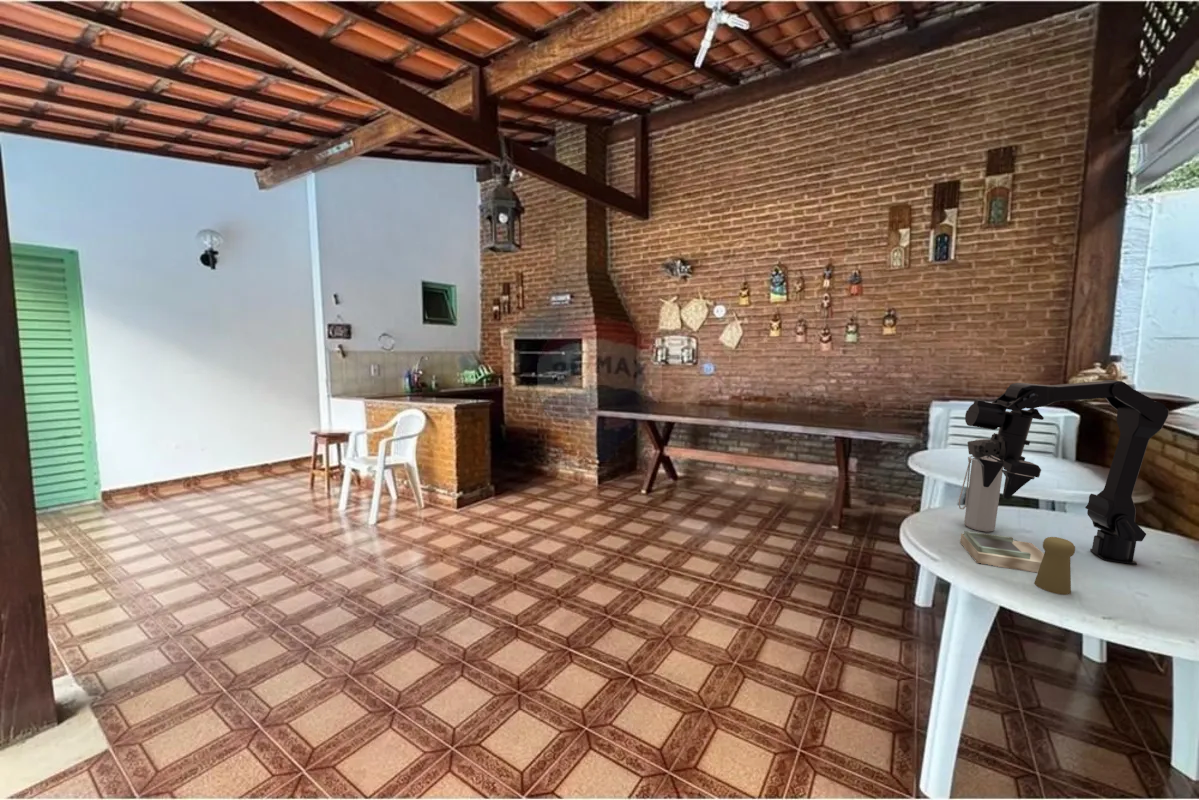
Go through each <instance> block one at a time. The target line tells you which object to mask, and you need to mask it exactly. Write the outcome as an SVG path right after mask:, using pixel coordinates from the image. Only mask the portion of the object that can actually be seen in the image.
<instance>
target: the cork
mask: <svg viewBox="0 0 1199 800" xmlns="http://www.w3.org/2000/svg"><path fill="white" fill-rule="evenodd" d="M1042 549H1043V550H1044V552H1043V553H1044V556H1043V559H1042V562H1041V565H1040V568H1039V571H1038V573H1037V572H1036V573H1037V574H1036V577H1035V580H1034V583H1033V584H1034V585H1035V586H1036V587H1037V588H1040V589H1041V590H1044V591H1046V592H1050V593H1052V594H1058V595H1062V596H1064V595H1065V596H1067V595H1068V596H1069V595H1071V593H1072V582H1071V579H1072V578H1071V576H1072V575H1071V571H1072V570H1071V558H1072V557H1073V556H1074V554H1075V552H1076V545H1075V544H1074V543H1073V542H1072V541H1070V540H1068V539H1065V538H1062V537H1057V536H1047V537H1045V538H1044V540H1043V541H1042Z"/></svg>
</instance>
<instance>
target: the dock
mask: <svg viewBox="0 0 1199 800" xmlns="http://www.w3.org/2000/svg"><path fill="white" fill-rule="evenodd" d="M959 544H961V545H963V546H964V547H963V546H962V547H963V548H964V549H965V550H966V552H967V551H968V552H969V553H968V555H970V557H973V558H974V559H975V560H976V561H975V560H974V559H973V558H972V559H973V560H974V561H975V563H976V564H977V563H981V564H980V565H984V564H988V565H987V566H991V565H993V566H992V567H997V566H998V567H999V568H1005V569H1011V570H1018V571H1024V572H1025V571H1026V572H1032V573H1038V571H1039V568H1040V565H1041V562H1042V559H1043V556H1044V553H1045V552H1043V551H1042V550H1040V549H1039V548H1038V547H1037V546H1036V545H1034V543H1032V542H1027V541H1019V540H1014V537H1012V536H1005V535H997V534H992V533H991V534H989V533H983V532H975V531H967V530H964V532H963V533H961V534H960V540H959Z"/></svg>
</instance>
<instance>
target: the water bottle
mask: <svg viewBox="0 0 1199 800" xmlns="http://www.w3.org/2000/svg"><path fill="white" fill-rule="evenodd" d="M983 439H984V438H975V440H974V441H976V440H983ZM967 461H968V463H967V468H966V471H965V476H964V479H963V481H962V482H963V483H962V487H961V490H960V494H959V498H958V509H959V510H965V512H964V514H965V515H964V521H963V522H964V525H965V526H967V528H969V529H972V530H974V531H978V532H982V533H983V532H985V533H987V532H989V533H991V532H993V531H995V529H996V525H997V524H996V523H997V518H998V517H997V516H998V509H999V500H1000V494H1001V487H1002V479H1003V472H1002V470H1004V467H1002V468H1001V470H1000V471H999V473H998V474H997V476H996V477H995V479H994V480H993V482H992V483H991V485H990V486H989V487H984V486H983V477H982V467H981V464H980V463H979V462H978V460H977V459H975V457H974V455H972V454H971V455H969V456H967ZM966 480H967V482H966ZM965 484H966V489H965V490H966V492H965V501H964V506H962V507H961V499H962V495H963V492H964V488H965V487H964V486H965Z"/></svg>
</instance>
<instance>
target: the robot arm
mask: <svg viewBox="0 0 1199 800" xmlns="http://www.w3.org/2000/svg"><path fill="white" fill-rule="evenodd" d="M1094 399H1095V400H1097V399H1105V400H1106V401H1107V402H1108V405H1110V406H1111V407H1112V408H1113V409H1115V410H1116V424H1117V427H1118V430H1119V433H1120V435H1119V438H1118V442H1117V445H1116V448H1115V451H1114V455H1113V458H1112V461H1111V465H1110V468H1109V472H1108V475H1107V478H1106V481H1105V484H1104V488H1103V490H1101V491H1100V492H1099V493H1097V494H1094V493H1090V494H1089V496H1088V503H1087V505H1086V506H1085V507H1084V508H1085V509H1086V510H1087V516H1088V517H1089V518H1090V520H1091V522H1092V525H1093V527H1094V528H1096V529H1097V531H1096V535H1093V540H1092V545H1091V546H1092V547H1091V548H1090V549H1089V551H1090V552H1092V553H1093V554H1094V555H1096V556H1098V558H1100V559H1102V560H1103V561H1106V562H1107V561H1109V562H1115V563H1121V564H1130V565H1138V562H1137V561H1135V560H1134V556H1135V551H1136V546H1137V542H1143V540H1144V539H1145V538H1146V536H1147V533H1146V531H1144V529H1142V528H1141V527H1140V526H1139V525H1138V524H1137V522H1136V513H1137V510H1136V505H1135V503H1134V499H1133V493H1134V491H1135V486H1136V483H1137V481H1138V477H1139V473H1140V470H1141V467H1142V464H1143V461H1144V458H1145V453H1146V451H1147V448H1148V444H1149V441H1150V439H1151V438H1152V437H1154V436H1155V435H1156V434H1157V433H1159V431H1161V430H1162V429H1163V427H1164V425H1165V423H1166V421H1167V420H1168V417H1169V414H1170V413H1169V408H1168V407H1166V405H1165V404H1164V403H1162V402H1160V401H1155V400H1153V399H1152V398H1150V397H1149V396H1147V395H1145V394H1143V393H1141V392H1140V391H1138V390H1136V389H1134V388H1133V387H1131V386H1130V385H1129V384H1127V383H1126V382H1124V381H1120V380H1113V379H1105V380H1101V381H1088V382H1087V381H1086V382H1077V383H1076V382H1075V383H1073V382H1072V383H1062V384H1051V385H1050V384H1039V383H1038V384H1036V383H1026V382H1014V383H1012V384H1009V386H1008V387H1007V388H1006V390H1005V392H1004V393H1002V394H1001V395H1000V396H998V397H997V398H995V399H994V400H993V401H992V402H989V401H985V400H981V399H974V400H973V403H972V404H971V405H970V406H969V407H968V409H967V410H966V411H965V415H964V416H965V417H964V419H965V424H966V425H967V426H969V427H975V428H980V429H986V430H992V431H996V430H997V429H998V432H997V433H993V434H992V435H991V437H990V438H982V439H983V440H976V439H975V440H976V441H975V440H969V441H967V449H968V455H969V456H972V455H974V457H975V459H977V460H978V462H979V463H980V464H981V467H982V477H983V486H984V487H989V486H990V485H991V483H992V482H993V480H994V479H995V477H996V476H997V474H998V473H999V471H1000V470H1001V468H1002V467H1003V470H1002V472H1003V473H1002V475H1004V476H1005V478H1004V484H1003V485H1004V486H1003V492H1002V498H1003V499H1006V500H1008V499H1010V498H1012V496H1014V494H1016V493H1017V492H1018V491H1019V490H1020V489H1022V487H1024V486H1025V485H1027V483H1029V482H1030V481H1031V480H1035V478H1040V475H1041V473H1042V469H1041V467H1040V466H1039V465H1038V464H1035V463H1033V462H1031V461H1027V460H1026V457H1025V456H1024V455H1023V452H1024V449H1025V446H1030V444H1031V441H1030V440H1027V439H1028V436H1029V432H1030V429H1031V425H1032V422H1033V419H1035V420H1041V421H1042V420H1044V419H1045V417H1044V416H1043V415H1042V414H1041V413H1040V412H1039V410H1038V408H1042V407H1047V406H1049V405H1052V404H1053V403H1057V402H1066V401H1067V402H1068V401H1069V402H1070V401H1082V400H1094ZM1026 409H1027V410H1026ZM1008 410H1009V411H1008ZM1022 455H1023V456H1022ZM974 457H973V458H974Z"/></svg>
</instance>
